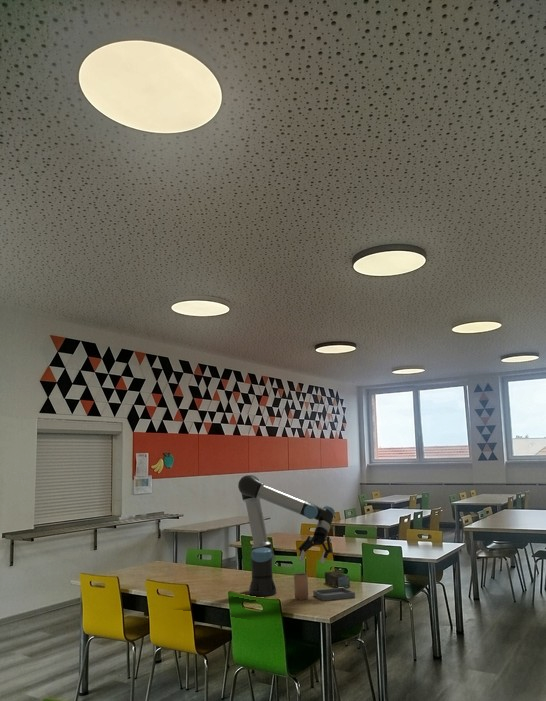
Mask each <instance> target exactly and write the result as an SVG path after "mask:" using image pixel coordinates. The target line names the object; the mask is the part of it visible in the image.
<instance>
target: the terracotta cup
mask: <svg viewBox="0 0 546 701" xmlns="http://www.w3.org/2000/svg"><path fill="white" fill-rule="evenodd" d="M293 577H294V578H293V582H294V583H293V584H294V599H295V600H296V599H299V600H298V601H305V600H304V599H307V600H309V585H308V584H309V582H308V573H306V572H298V573H297V572H296V573H294V574H293Z"/></svg>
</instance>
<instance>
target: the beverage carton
mask: <svg viewBox="0 0 546 701" xmlns="http://www.w3.org/2000/svg"><path fill="white" fill-rule="evenodd" d="M324 580H325V583H326V582H327V583H326V584H328V583H329V584H328V585H330V584H331V585H330V586H332V585H334V586H333V587H335V586H337V587H344V588H347V587H346V586H350V587H351V582H350V581H351V579H350V576H349V575H347V574H345V573H341V572H340V571H337V570H334V571H325V572H324ZM337 587H336V588H337Z"/></svg>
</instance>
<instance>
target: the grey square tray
mask: <svg viewBox="0 0 546 701" xmlns="http://www.w3.org/2000/svg"><path fill="white" fill-rule="evenodd" d="M312 592H313V595H314V596H313V597H315V596H316V597H315V598H317V597H318V598H317V599H319V598H320V600H321V599H322V600H321V601H323V600H327V601H333V600H332V599H337V600H342V599H341V598H346V599H352V598H351V597H355V598H356V593H355V591H353V590H350V589H348V588H347V587H344V588H337V587H335V588H326V589H315V590H313V591H312Z"/></svg>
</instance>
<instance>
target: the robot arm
mask: <svg viewBox="0 0 546 701" xmlns="http://www.w3.org/2000/svg"><path fill="white" fill-rule="evenodd" d="M237 484H238V486H237V488H238V490H239V492H240V494H241V498H242V501H243V502H244V503H245V505H246V511H247V517H248V522H249V526H250V534H251V537H252V542H253V544H252V546H251V553H250V558H251V559H250V560H251V563H250V564H251V581H250V584H249V588H248V595H249V594H252V595H259V596H258V597H267V596H273V595H276V594H277V587H276V584H275V582H274V578H273V577H274V576H273V564H274V563H275V559H276V558H275V553H274V551H273V547H272V542H270V541H269V540H268V535H267V534H268V533H267V529H266V523H265V520H264V519H265V518H264V514H263V508H262V504H261V499H262V500H264V501H266V502H269V503H271V504H274V505H276V506H279V507H280V508H283V509H285V510H289V511H291V512H293V513H295V514H299V515H300V516H303V517H305V518H306V519H309V520H313V519H314V520H316V521H317V524H316V526H315V529H314V532H313V536H310V535H309V536H307V537H306V539H305V541H304V542H303V543H302V544H300V546H299V547H298V551H299V558H298V561H299V563H300V564H302V563H303V560H304V557H305V556H306V552H307V551H308V550H310V549H311V548H313V547H315V546H321V545H322V547H323V549H324V551H323V552H322V555H321V558H320V564H321V565H324V564H325V562H326V559H327V558H328V555H329V554H332V553H333V549H332V545H331V540H332V538H330V535H329V532H330V528H331V526H332V523H333V520H334V518H335V517H334V516H335V513H336V512H335V509H334V508H333V507H332V506H328V505H325V506H324V507H322V506H321V507H320V506H318V505H316V504H313V503H311V501H307V500H302V499H299V498H296V497H294V496H292V495H289V494H287V493H284V492H282V491H280V490H277V489H274V488H272V487H269V486H267V485H264V484H265V483H264V482H262V481H260V480H259V478H258V477H257V476H255V475H253V474H249V475H248V474H247V475H243V476H242V477H241V478H240V479H239V481H238V482H237ZM325 542H326V544H327V546H326V545H325ZM252 595H251V596H252Z"/></svg>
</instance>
